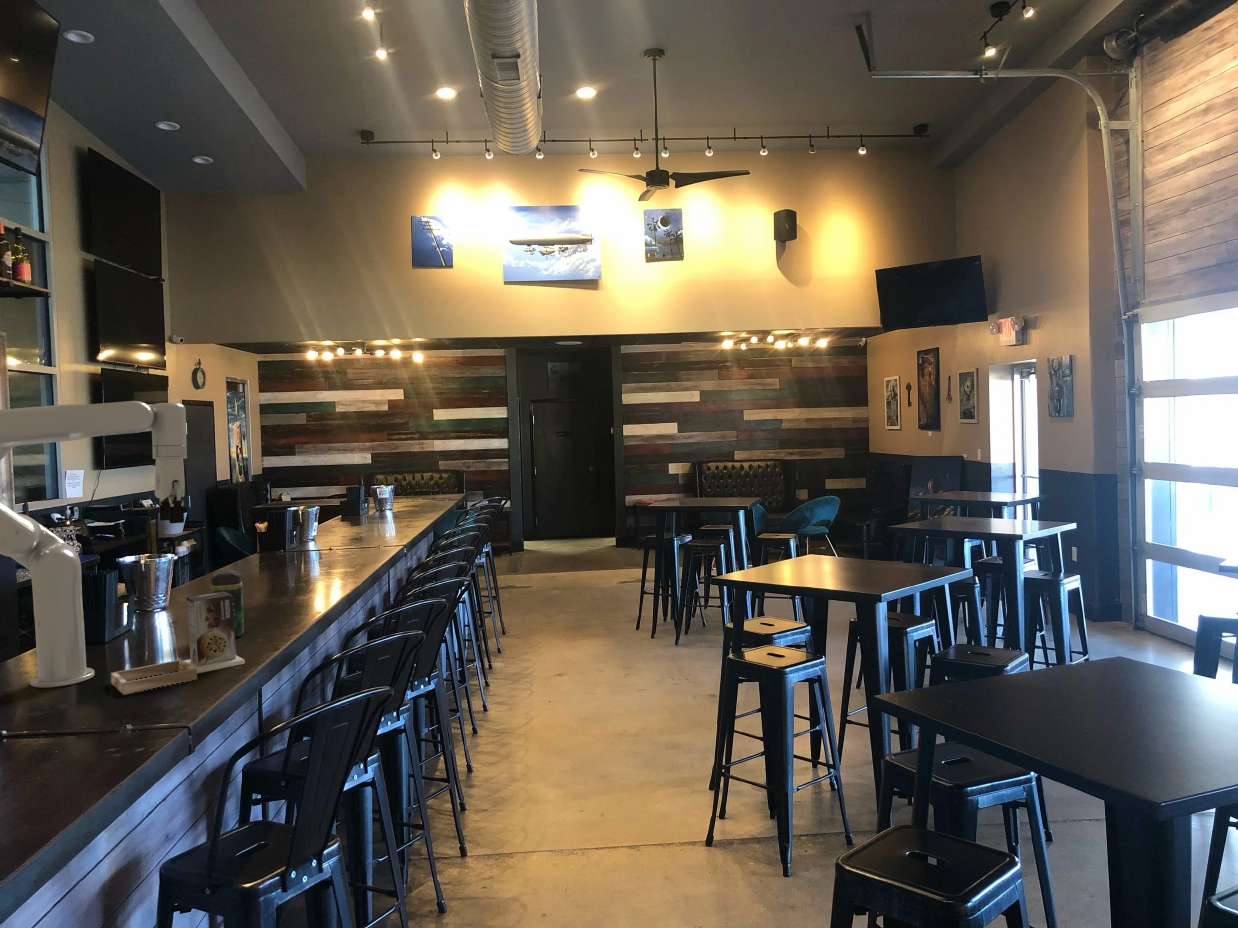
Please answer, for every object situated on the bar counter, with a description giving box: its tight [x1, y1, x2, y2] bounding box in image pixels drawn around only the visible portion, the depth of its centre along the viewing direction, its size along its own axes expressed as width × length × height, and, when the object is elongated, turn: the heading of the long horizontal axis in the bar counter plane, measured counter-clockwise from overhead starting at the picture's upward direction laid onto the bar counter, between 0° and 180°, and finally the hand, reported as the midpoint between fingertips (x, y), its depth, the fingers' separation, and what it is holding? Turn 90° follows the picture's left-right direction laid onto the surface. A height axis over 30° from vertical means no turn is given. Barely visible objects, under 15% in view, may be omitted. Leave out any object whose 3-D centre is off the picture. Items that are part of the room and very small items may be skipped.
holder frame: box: [110, 658, 198, 696], centre depth 196 cm, size 12×15×2 cm
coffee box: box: [186, 592, 237, 666], centre depth 209 cm, size 9×6×16 cm
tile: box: [183, 654, 246, 674], centre depth 209 cm, size 11×11×1 cm
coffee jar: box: [210, 568, 245, 638], centre depth 238 cm, size 10×8×19 cm
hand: (171, 521), depth 211 cm, fingers open, 9 cm apart
